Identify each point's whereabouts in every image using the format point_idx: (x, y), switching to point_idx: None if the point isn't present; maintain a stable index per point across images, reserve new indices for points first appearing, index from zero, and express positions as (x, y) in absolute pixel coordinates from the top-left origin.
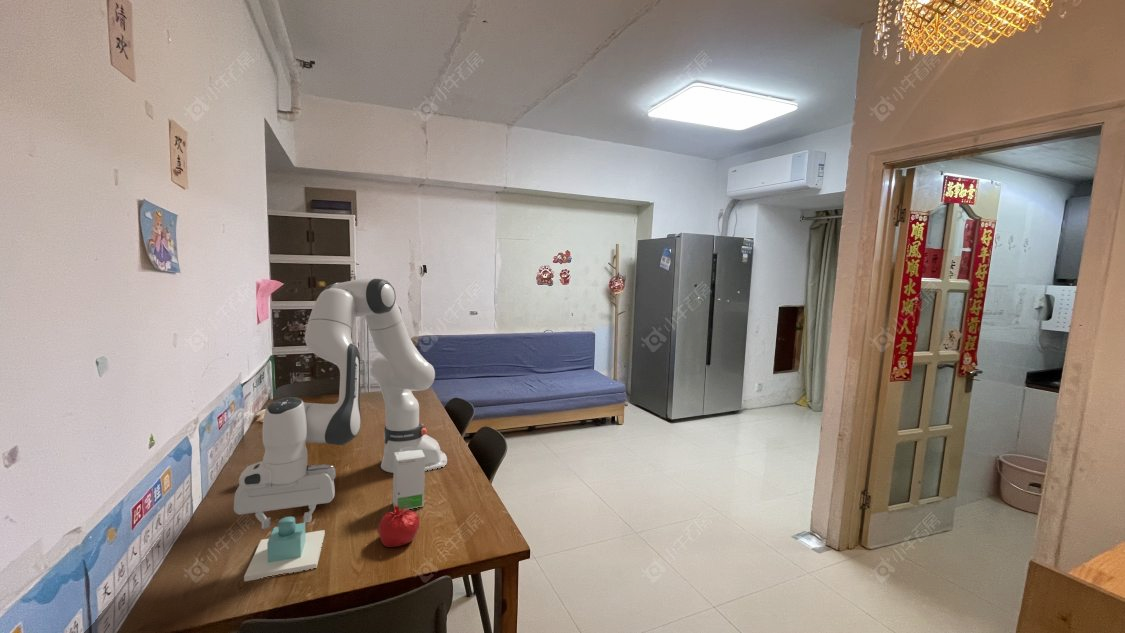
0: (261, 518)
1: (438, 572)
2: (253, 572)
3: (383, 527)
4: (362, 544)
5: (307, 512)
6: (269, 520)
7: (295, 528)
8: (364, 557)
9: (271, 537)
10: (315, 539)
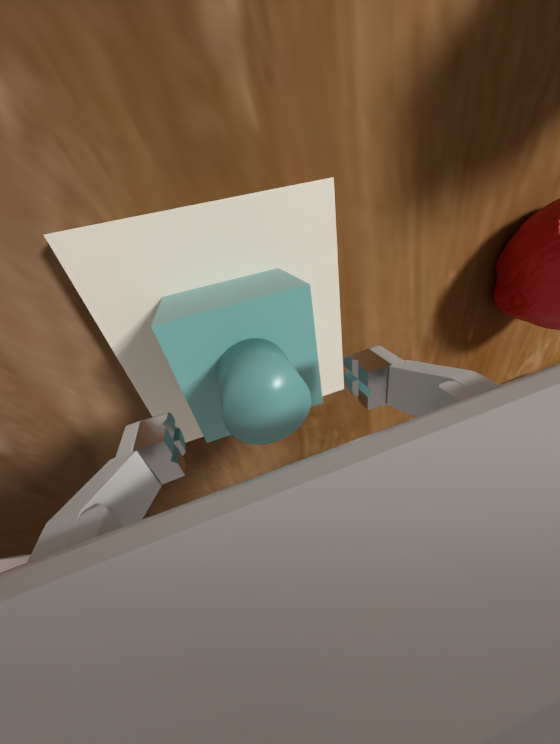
0: (139, 519)
1: None
2: (187, 432)
3: (557, 311)
4: (442, 275)
5: (382, 370)
6: (179, 463)
7: (279, 339)
8: (438, 338)
9: (200, 411)
10: (313, 261)
